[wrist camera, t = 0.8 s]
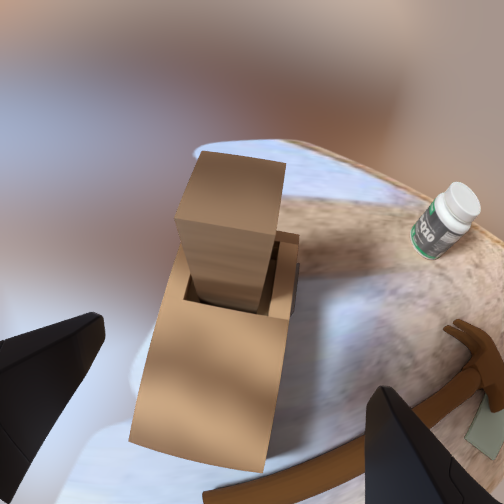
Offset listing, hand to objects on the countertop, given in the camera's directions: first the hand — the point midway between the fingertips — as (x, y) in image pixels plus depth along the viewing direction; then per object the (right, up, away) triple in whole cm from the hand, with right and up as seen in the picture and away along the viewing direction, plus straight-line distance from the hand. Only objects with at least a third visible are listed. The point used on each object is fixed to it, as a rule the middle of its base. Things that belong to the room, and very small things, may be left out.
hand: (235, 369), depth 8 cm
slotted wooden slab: (-2, -4, +14) cm, 15 cm away
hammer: (+11, -12, +11) cm, 20 cm away
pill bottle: (+20, +4, +21) cm, 29 cm away
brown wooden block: (-1, +1, +16) cm, 16 cm away
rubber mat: (+27, -14, +11) cm, 32 cm away
